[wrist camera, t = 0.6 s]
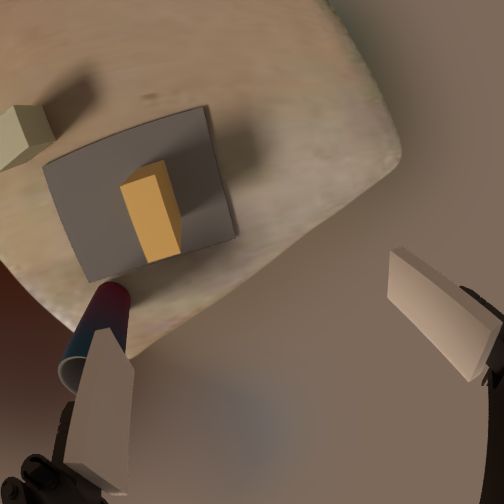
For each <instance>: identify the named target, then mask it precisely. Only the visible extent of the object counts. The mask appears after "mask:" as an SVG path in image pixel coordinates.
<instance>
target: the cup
mask: <svg viewBox="0 0 504 504" xmlns="http://www.w3.org/2000/svg"><path fill="white" fill-rule="evenodd" d="M129 309H130V296H129V293H128V292H127V290H126V289H125V288H124V287H123V286H121V285H119V284H117V283H113V282H107V283H104V284H102V285H100V286H99V287H98V289H97V290H96V292H95V294H94V296H93V297H92V299H91V301H90V303H89V305H88V307H87V309H86V311H85V312H84V314H83V316H82V318H81V320H80V322H79V324H78V326H77V328H76V330H75V332H74V334H73V336H72V338H71V340H70V342H69V344H68V346H67V349H66V351H65V353H64V355H63V357H62V359H61V362H60V364H59V367H58V374H59V378H60V380H61V381H62V383H63V384H64V386H65V387H66V388H68V389H69V390H70V391H71V392H72V393H74V394H75V395H77V392H78V388H79V384H80V380H81V376H82V373H83V369H84V366H85V362H86V359H87V355H88V352H89V349H90V345H91V342H92V339H93V336H94V333H95V331H96V330H101V329H105V328H110V329H111V331H112V333H113V335H114V336H115V338H116V340H117V342H118V343H119V345H120V347H121V349H122V350H123V352H124V354H125V350H126V338H127V328H128V318H129Z"/></svg>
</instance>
